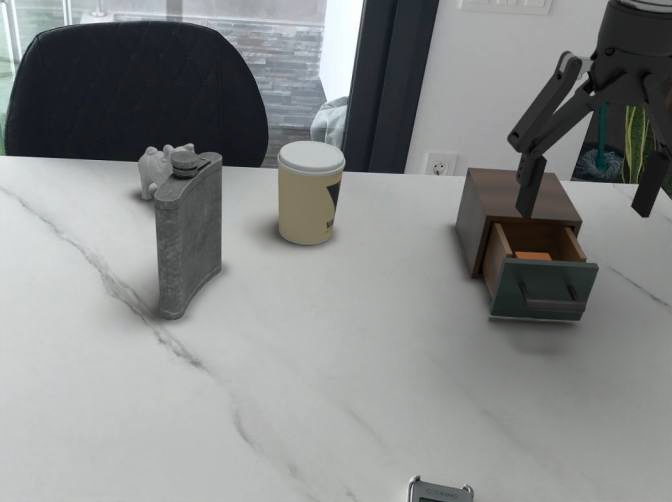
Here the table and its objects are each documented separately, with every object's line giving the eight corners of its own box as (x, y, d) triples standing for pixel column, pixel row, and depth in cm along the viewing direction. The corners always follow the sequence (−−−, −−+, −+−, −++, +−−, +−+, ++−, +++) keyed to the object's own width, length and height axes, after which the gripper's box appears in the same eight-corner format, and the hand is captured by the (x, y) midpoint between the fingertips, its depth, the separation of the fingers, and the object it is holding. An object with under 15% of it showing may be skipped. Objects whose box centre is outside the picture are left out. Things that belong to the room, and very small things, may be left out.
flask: (150, 314, 95) (141, 176, 83) (200, 260, 105) (198, 131, 94) (177, 322, 94) (172, 183, 83) (224, 266, 105) (226, 136, 93)
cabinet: (561, 284, 106) (583, 221, 100) (470, 278, 106) (486, 215, 100) (537, 232, 117) (554, 172, 111) (454, 227, 117) (467, 167, 111)
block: (539, 282, 102) (548, 252, 100) (548, 300, 99) (558, 270, 96) (506, 280, 102) (514, 251, 99) (514, 299, 99) (523, 269, 96)
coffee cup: (338, 249, 110) (348, 169, 102) (273, 246, 109) (277, 165, 102) (335, 218, 117) (343, 141, 109) (273, 215, 117) (277, 138, 109)
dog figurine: (185, 227, 112) (183, 157, 105) (134, 195, 119) (129, 127, 112) (214, 217, 115) (214, 148, 108) (162, 185, 122) (159, 119, 115)
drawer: (591, 344, 94) (612, 290, 89) (498, 339, 94) (513, 284, 89) (553, 265, 108) (569, 215, 103) (472, 260, 108) (484, 209, 103)
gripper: (538, 8, 66) (483, 230, 80) (800, 17, 70) (704, 228, 83) (508, -14, 72) (461, 196, 86) (751, -5, 75) (669, 196, 89)
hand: (581, 212), depth 84 cm, fingers open, 13 cm apart
